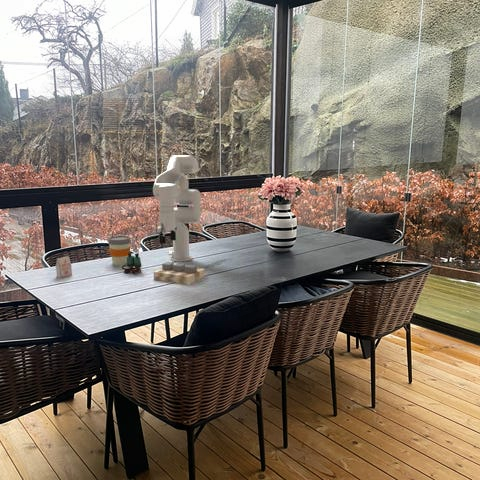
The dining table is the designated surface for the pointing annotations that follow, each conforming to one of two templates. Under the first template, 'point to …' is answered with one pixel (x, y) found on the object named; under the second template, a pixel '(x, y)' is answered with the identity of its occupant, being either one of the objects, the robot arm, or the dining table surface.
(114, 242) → the reusable coffee cup
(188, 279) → the switch unit
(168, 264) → the button
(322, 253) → the dining table surface
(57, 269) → the tea bag
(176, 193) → the robot arm
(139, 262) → the green tank cart
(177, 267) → the button
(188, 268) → the button
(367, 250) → the dining table surface
